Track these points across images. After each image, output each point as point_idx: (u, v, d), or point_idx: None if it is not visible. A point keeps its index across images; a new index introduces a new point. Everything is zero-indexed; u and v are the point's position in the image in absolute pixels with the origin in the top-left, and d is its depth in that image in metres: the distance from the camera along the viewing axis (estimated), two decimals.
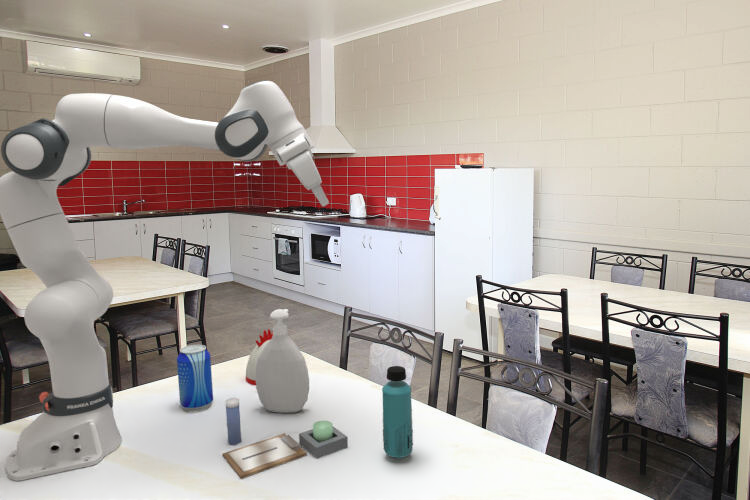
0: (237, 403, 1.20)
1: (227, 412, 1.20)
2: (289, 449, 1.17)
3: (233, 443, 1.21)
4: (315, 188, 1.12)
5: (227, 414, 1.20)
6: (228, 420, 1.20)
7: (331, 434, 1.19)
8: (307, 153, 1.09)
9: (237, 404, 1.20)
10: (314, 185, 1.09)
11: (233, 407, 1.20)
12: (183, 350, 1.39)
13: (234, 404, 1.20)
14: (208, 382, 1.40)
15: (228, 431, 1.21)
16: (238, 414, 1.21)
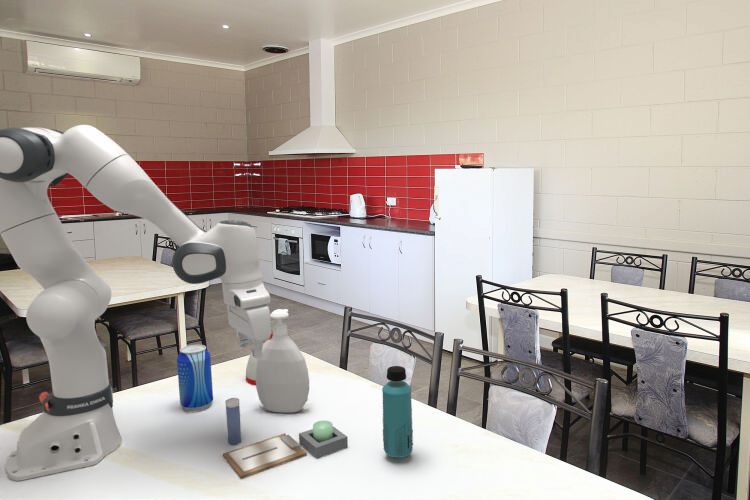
0: (237, 403, 1.20)
1: (227, 412, 1.20)
2: (289, 449, 1.17)
3: (233, 443, 1.21)
4: None
5: (227, 414, 1.20)
6: (228, 420, 1.20)
7: (331, 434, 1.19)
8: (267, 308, 1.11)
9: (237, 404, 1.20)
10: (262, 340, 1.11)
11: (233, 407, 1.20)
12: (183, 350, 1.39)
13: (234, 404, 1.20)
14: (208, 382, 1.40)
15: (228, 431, 1.21)
16: (238, 414, 1.21)
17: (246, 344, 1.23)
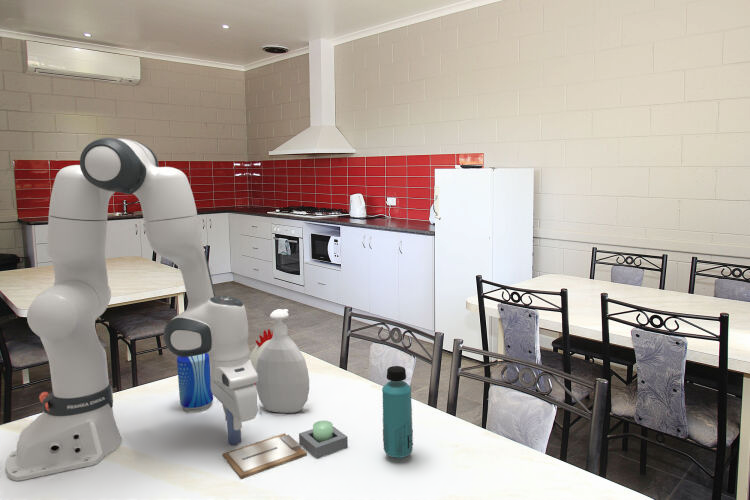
0: None
1: (227, 412, 1.20)
2: (289, 449, 1.17)
3: (233, 443, 1.21)
4: None
5: (227, 414, 1.20)
6: (228, 420, 1.20)
7: (331, 434, 1.19)
8: (255, 388, 1.14)
9: None
10: (248, 419, 1.13)
11: None
12: None
13: None
14: (208, 382, 1.40)
15: (228, 431, 1.21)
16: None
17: None
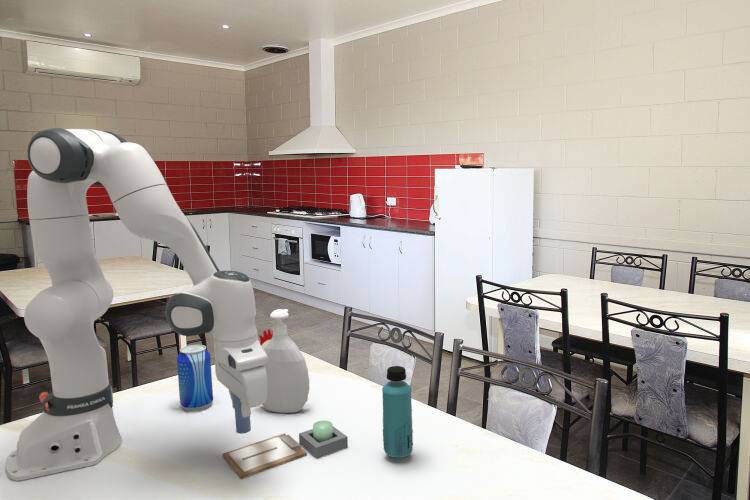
0: None
1: (235, 398, 1.10)
2: (289, 449, 1.17)
3: (242, 432, 1.11)
4: None
5: (235, 400, 1.10)
6: (236, 406, 1.10)
7: (331, 434, 1.19)
8: (264, 370, 1.04)
9: None
10: (258, 405, 1.03)
11: None
12: (183, 350, 1.39)
13: None
14: (208, 382, 1.40)
15: (236, 419, 1.11)
16: None
17: None
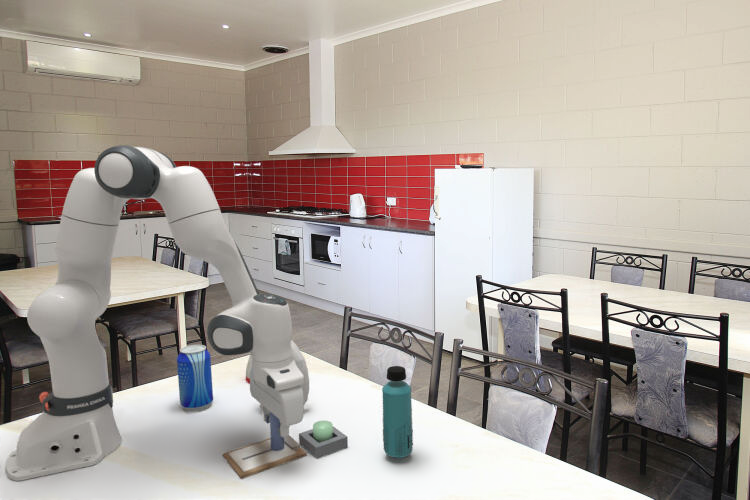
0: None
1: (271, 416, 1.16)
2: (289, 449, 1.17)
3: (276, 449, 1.16)
4: None
5: (271, 418, 1.16)
6: (272, 424, 1.16)
7: (331, 434, 1.19)
8: (301, 390, 1.09)
9: None
10: (295, 423, 1.08)
11: None
12: (183, 350, 1.39)
13: None
14: (208, 382, 1.40)
15: (271, 436, 1.16)
16: None
17: None
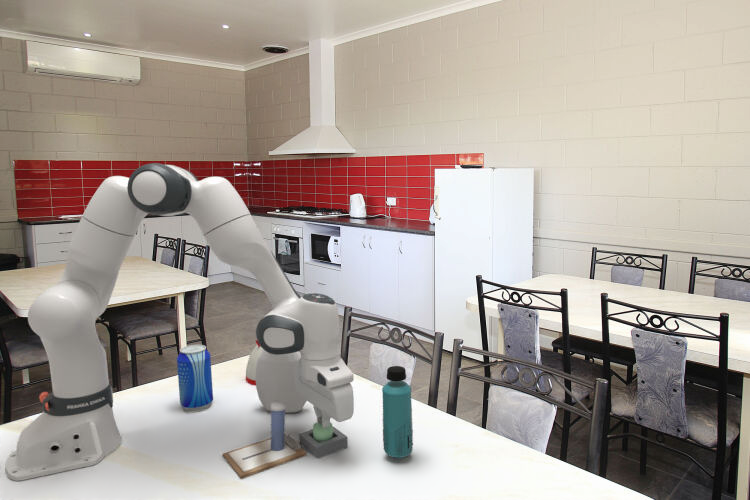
0: (283, 407, 1.16)
1: (272, 416, 1.16)
2: (289, 449, 1.17)
3: (276, 449, 1.16)
4: None
5: (272, 418, 1.16)
6: (273, 424, 1.16)
7: (331, 435, 1.19)
8: (351, 387, 1.12)
9: (283, 408, 1.16)
10: (345, 419, 1.11)
11: (279, 411, 1.15)
12: (183, 350, 1.39)
13: (280, 408, 1.15)
14: (208, 382, 1.40)
15: (272, 436, 1.16)
16: (283, 418, 1.16)
17: None
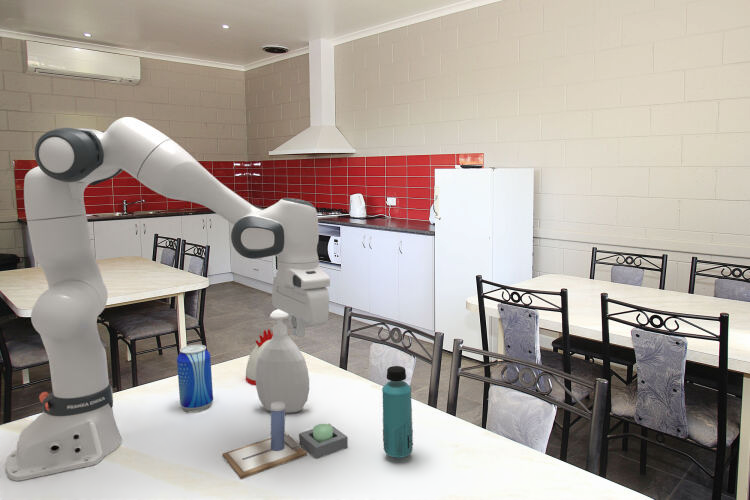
0: (283, 407, 1.16)
1: (272, 416, 1.16)
2: (289, 449, 1.17)
3: (276, 449, 1.16)
4: None
5: (272, 418, 1.16)
6: (273, 424, 1.16)
7: (331, 437, 1.19)
8: (327, 291, 1.09)
9: (283, 408, 1.16)
10: (319, 323, 1.08)
11: (279, 411, 1.15)
12: (183, 350, 1.39)
13: (280, 408, 1.15)
14: (208, 382, 1.40)
15: (272, 436, 1.16)
16: (283, 418, 1.16)
17: None
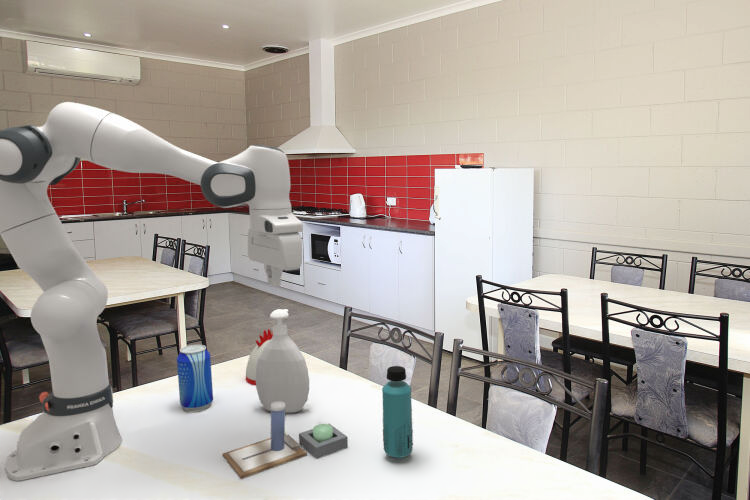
0: (283, 407, 1.16)
1: (272, 416, 1.16)
2: (289, 449, 1.17)
3: (276, 449, 1.16)
4: (277, 267, 1.13)
5: (272, 418, 1.16)
6: (273, 424, 1.16)
7: (331, 437, 1.19)
8: (299, 236, 1.08)
9: (283, 408, 1.16)
10: (293, 268, 1.07)
11: (279, 411, 1.15)
12: (183, 350, 1.39)
13: (280, 408, 1.15)
14: (208, 382, 1.40)
15: (272, 436, 1.16)
16: (283, 418, 1.16)
17: None
